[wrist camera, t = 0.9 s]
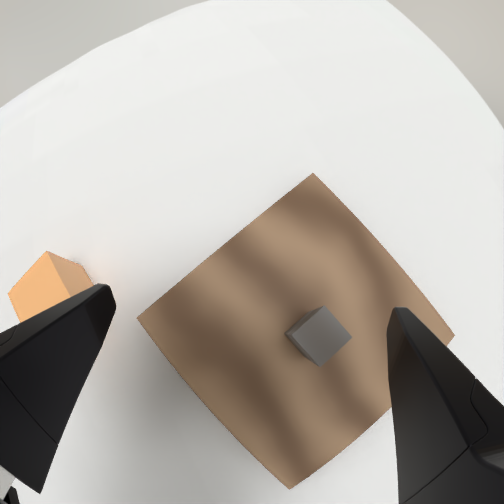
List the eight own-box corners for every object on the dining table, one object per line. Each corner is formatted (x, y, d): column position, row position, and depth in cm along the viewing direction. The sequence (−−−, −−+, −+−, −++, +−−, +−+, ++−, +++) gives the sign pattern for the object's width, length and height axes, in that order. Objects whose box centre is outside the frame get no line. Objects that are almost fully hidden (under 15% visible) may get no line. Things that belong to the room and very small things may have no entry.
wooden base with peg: (288, 484, 22) (296, 532, 15) (140, 318, 26) (97, 312, 19) (449, 335, 25) (502, 333, 17) (311, 177, 29) (325, 128, 21)
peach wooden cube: (72, 349, 26) (34, 350, 20) (45, 301, 27) (7, 293, 21) (111, 313, 27) (77, 308, 21) (81, 265, 28) (46, 250, 22)
